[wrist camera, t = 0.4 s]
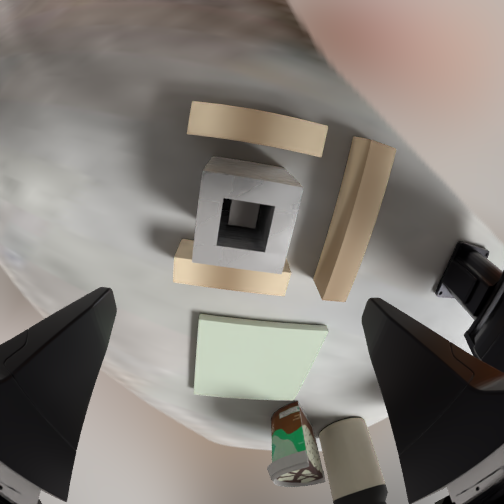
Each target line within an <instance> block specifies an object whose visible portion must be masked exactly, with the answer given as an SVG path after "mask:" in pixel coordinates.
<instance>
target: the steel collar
mask: <svg viewBox="0 0 504 504" xmlns="http://www.w3.org/2000/svg"><path fill="white" fill-rule="evenodd" d="M303 189H304V188H303V186H302V185H301V184H300V183H299V182H298V181H297V180H296V179H295V178H294V177H293V176H292V175H291V174H290V173H289V172H288V171H287V170H286V169H285V168H282V167H277V166H272V165H266V164H261V163H255V162H249V161H243V160H237V159H230V158H224V157H216V156H212V158H211V159H210V161H209V162H208V163H207V165H206V166H205V168H204V169H203V171H202V177H201V185H200V192H199V200H198V209H197V217H196V226H195V235H194V245H193V256H192V263H199V264H207V265H214V266H221V267H229V268H236V269H244V270H251V271H259V272H267V273H275V274H282V271H283V268H284V264H285V260H286V256H287V253H288V249H289V245H290V241H291V237H292V233H293V229H294V225H295V222H296V218H297V214H298V210H299V205H300V201H301V197H302V193H303ZM223 198H226V199H233V200H240V201H246V202H252V203H259V204H260V207H259V212H258V217H257V222H256V227H255V228H249V227H242V226H235V225H228V219H229V211H225V210H222V204H223Z"/></svg>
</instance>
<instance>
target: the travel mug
mask: <svg viewBox="0 0 504 504" xmlns="http://www.w3.org/2000/svg"><path fill="white" fill-rule="evenodd" d="M319 438H320V442H321V447H322V451H323V456H324V460H325V465H326V470H327V474H328V479H329V484H330V489H331V493H332V498H333V503H334V504H386V502H385V500H386V496H387V493H388V492H387V488H386V485H385V481H384V478H383V475H382V472H381V468H380V465H379V462H378V459H377V456H376V453H375V450H374V447H373V444H372V440H371V438H370V435H369V432H368V429H367V426H366V423H365V420H364V419H362V418H348V419H343V420H340V421H337V422H335V423H333V424H331V425H329V426H327V427H326V428H325V429H323V430H322V431H321V432H320V434H319Z"/></svg>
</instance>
